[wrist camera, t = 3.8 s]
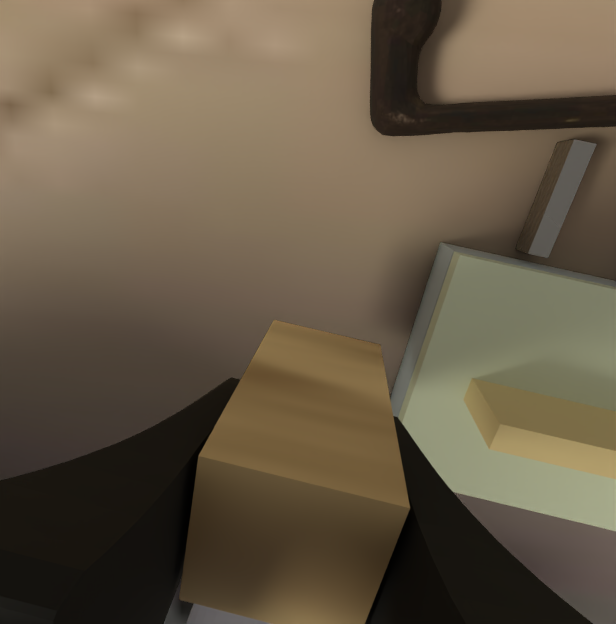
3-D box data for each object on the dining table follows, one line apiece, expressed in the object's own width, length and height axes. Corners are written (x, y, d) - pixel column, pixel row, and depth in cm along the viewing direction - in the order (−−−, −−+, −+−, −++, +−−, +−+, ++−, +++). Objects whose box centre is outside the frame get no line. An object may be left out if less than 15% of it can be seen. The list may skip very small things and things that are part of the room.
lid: (643, 525, 17) (720, 615, 14) (382, 462, 18) (390, 534, 14) (780, 323, 14) (930, 373, 10) (454, 251, 14) (488, 274, 11)
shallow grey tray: (610, 486, 19) (642, 523, 17) (379, 431, 20) (382, 461, 18) (722, 304, 16) (777, 322, 14) (440, 241, 16) (453, 250, 14)
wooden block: (353, 433, 13) (356, 645, 7) (256, 410, 13) (179, 599, 7) (380, 344, 12) (410, 508, 6) (274, 319, 12) (198, 456, 6)
